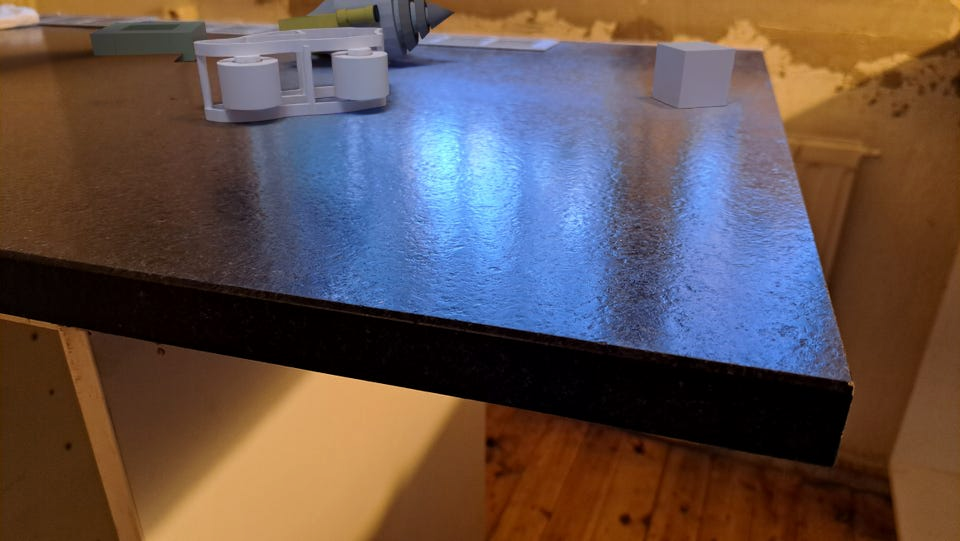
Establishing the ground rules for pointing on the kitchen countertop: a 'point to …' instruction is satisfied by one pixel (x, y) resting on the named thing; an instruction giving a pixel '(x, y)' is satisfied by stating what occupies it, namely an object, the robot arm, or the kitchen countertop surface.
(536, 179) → the kitchen countertop surface
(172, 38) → the holder
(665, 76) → the gray cube
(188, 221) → the kitchen countertop surface
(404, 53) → the ray gun
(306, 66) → the wheeled car silhouette
